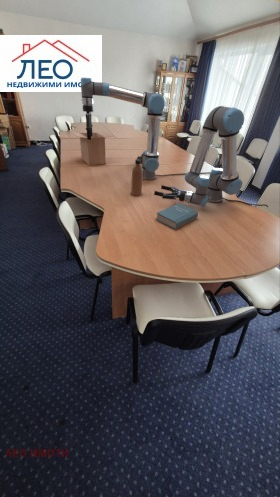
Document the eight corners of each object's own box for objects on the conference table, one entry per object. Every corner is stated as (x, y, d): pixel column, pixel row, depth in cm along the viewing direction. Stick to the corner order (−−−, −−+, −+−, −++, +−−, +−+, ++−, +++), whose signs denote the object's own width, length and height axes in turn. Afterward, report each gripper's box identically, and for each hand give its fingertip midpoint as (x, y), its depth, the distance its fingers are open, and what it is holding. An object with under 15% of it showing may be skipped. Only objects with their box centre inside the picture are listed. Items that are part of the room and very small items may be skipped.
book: (177, 209, 154) (178, 203, 151) (197, 218, 145) (198, 211, 142) (156, 219, 141) (156, 212, 138) (175, 230, 132) (177, 222, 129)
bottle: (129, 194, 172) (130, 160, 157) (134, 191, 177) (136, 158, 162) (137, 196, 168) (139, 162, 153) (143, 193, 174) (145, 160, 159)
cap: (134, 163, 159) (134, 160, 157) (137, 162, 161) (137, 159, 160) (138, 164, 157) (138, 161, 156) (141, 163, 160) (141, 160, 158)
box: (116, 165, 229) (116, 136, 213) (83, 168, 214) (80, 137, 198) (102, 154, 259) (101, 128, 243) (71, 156, 244) (68, 129, 228)
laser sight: (156, 165, 238) (157, 155, 232) (135, 163, 241) (136, 153, 235) (157, 163, 245) (158, 153, 240) (137, 160, 248) (138, 151, 242)
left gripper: (84, 103, 166) (86, 134, 179) (80, 106, 147) (83, 140, 159) (94, 104, 167) (95, 135, 180) (91, 106, 147) (93, 141, 160)
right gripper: (179, 207, 149) (150, 200, 156) (189, 195, 168) (163, 189, 174) (181, 197, 145) (151, 190, 151) (191, 186, 163) (164, 180, 170)
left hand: (90, 137), depth 170 cm, fingers open, 13 cm apart
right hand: (157, 189), depth 163 cm, fingers open, 13 cm apart
